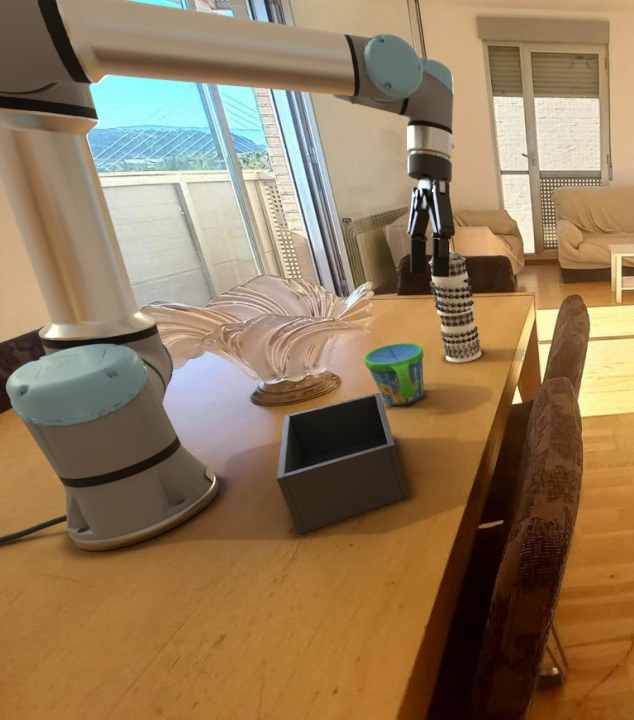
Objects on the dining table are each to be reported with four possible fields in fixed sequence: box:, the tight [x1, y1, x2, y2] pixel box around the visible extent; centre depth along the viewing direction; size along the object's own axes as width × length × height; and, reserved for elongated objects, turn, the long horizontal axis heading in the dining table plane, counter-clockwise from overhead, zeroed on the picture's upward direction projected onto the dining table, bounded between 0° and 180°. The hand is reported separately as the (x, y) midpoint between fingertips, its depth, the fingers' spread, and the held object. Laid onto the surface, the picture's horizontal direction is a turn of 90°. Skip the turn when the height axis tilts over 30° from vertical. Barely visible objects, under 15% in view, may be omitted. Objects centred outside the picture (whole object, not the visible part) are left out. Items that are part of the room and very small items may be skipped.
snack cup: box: [363, 342, 424, 407], centre depth 94 cm, size 16×10×10 cm
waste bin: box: [276, 392, 409, 535], centre depth 71 cm, size 14×19×9 cm
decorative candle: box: [428, 251, 482, 364], centre depth 111 cm, size 9×9×25 cm
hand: (428, 275), depth 90 cm, fingers open, 13 cm apart
